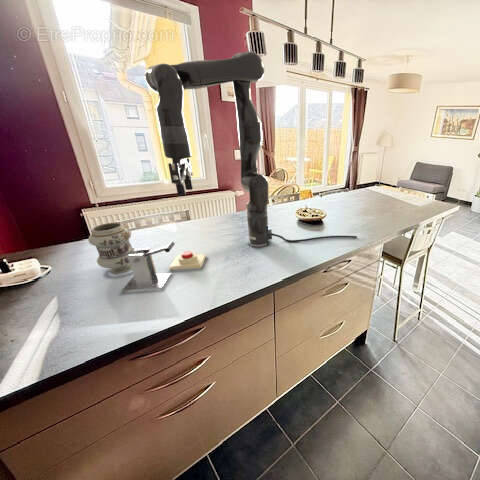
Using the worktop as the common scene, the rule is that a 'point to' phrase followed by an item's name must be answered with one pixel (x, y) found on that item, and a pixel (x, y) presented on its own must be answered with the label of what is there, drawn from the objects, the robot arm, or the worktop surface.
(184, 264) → the button block
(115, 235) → the apothecary jar
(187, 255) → the button
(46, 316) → the worktop surface
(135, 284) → the bracket
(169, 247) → the lever
